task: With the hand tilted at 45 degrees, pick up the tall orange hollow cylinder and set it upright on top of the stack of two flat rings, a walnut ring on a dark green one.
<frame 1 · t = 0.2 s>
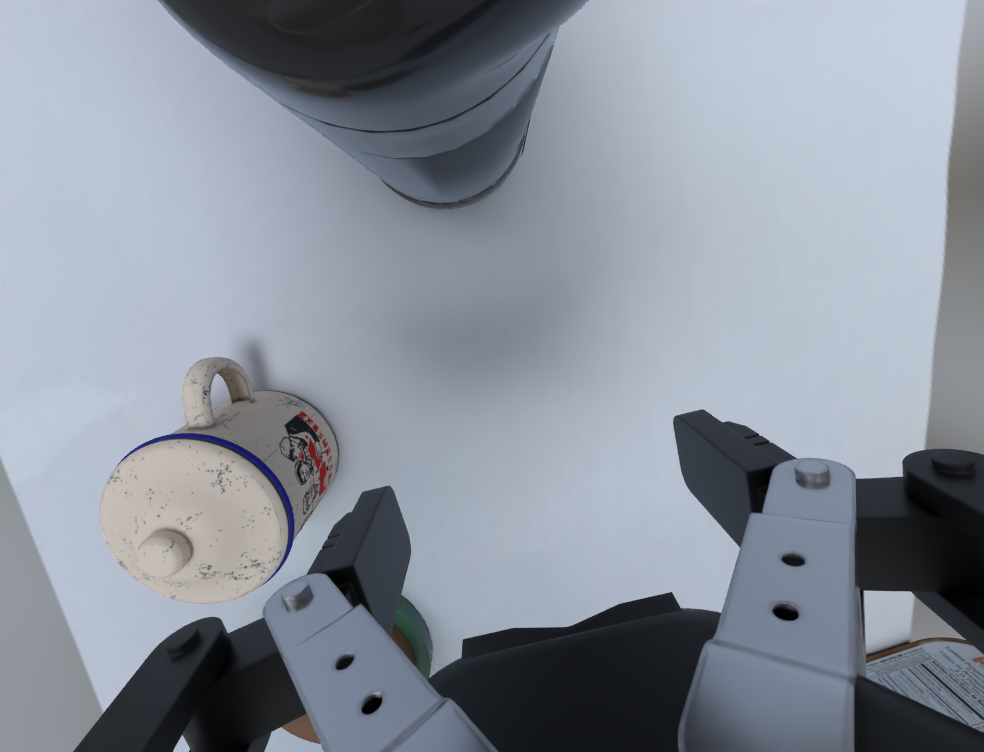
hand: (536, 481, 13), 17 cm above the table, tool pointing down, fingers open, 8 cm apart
tin: (871, 660, 37), on the table
teacup with lid: (272, 429, 31), on the table
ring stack: (346, 649, 35), on the table
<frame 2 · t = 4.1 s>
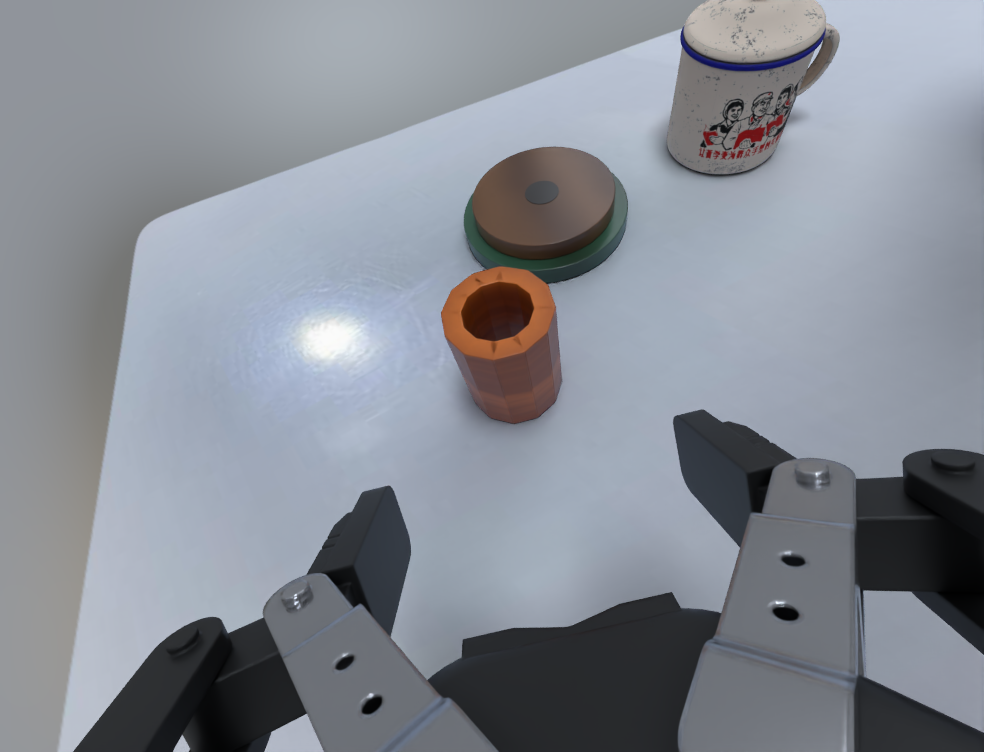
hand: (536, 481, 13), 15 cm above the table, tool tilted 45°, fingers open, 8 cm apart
teacup with lid: (735, 139, 40), on the table
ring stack: (544, 222, 38), on the table
orange hollow cylinder: (515, 381, 32), on the table
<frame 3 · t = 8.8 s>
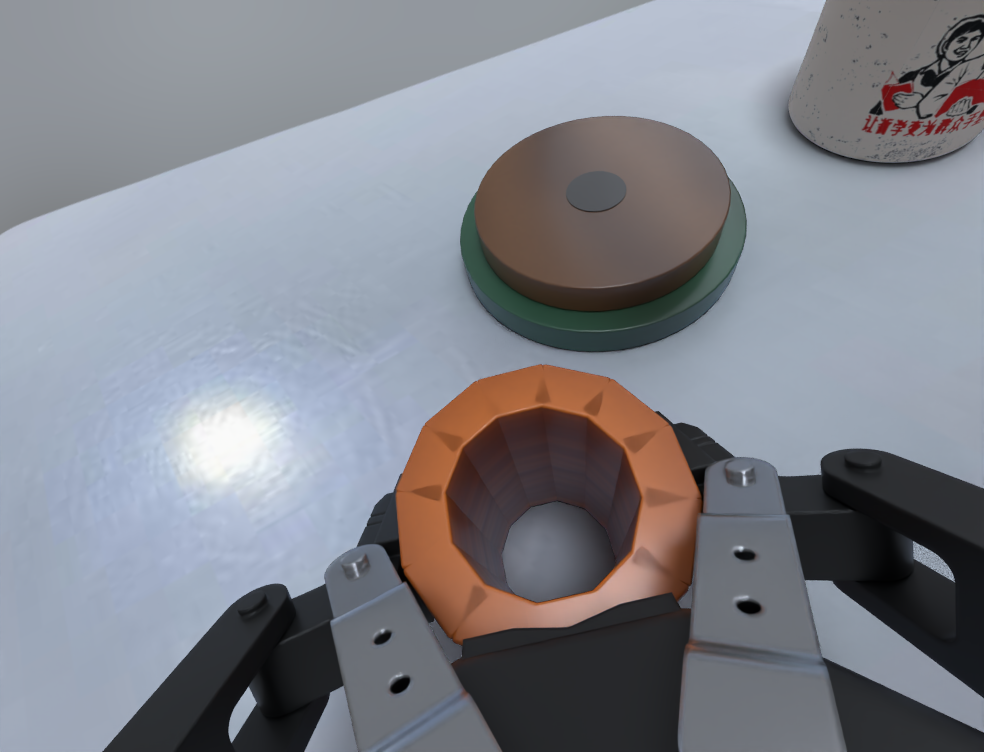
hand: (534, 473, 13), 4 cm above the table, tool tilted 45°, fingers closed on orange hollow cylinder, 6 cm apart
teacup with lid: (903, 108, 24), on the table
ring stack: (594, 241, 23), on the table
orange hollow cylinder: (557, 557, 16), on the table, touching gripper
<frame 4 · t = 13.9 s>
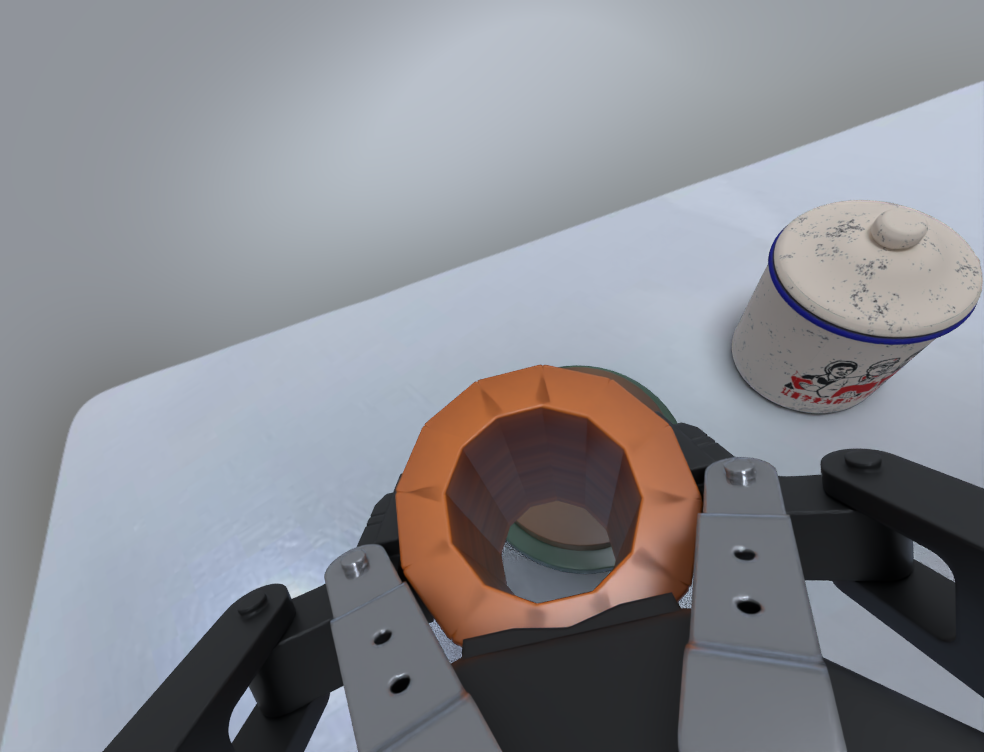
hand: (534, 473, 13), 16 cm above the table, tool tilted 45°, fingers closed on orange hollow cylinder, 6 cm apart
teacup with lid: (820, 352, 31), on the table
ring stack: (577, 464, 30), on the table
orange hollow cylinder: (557, 557, 16), point 12 cm above the table, touching gripper
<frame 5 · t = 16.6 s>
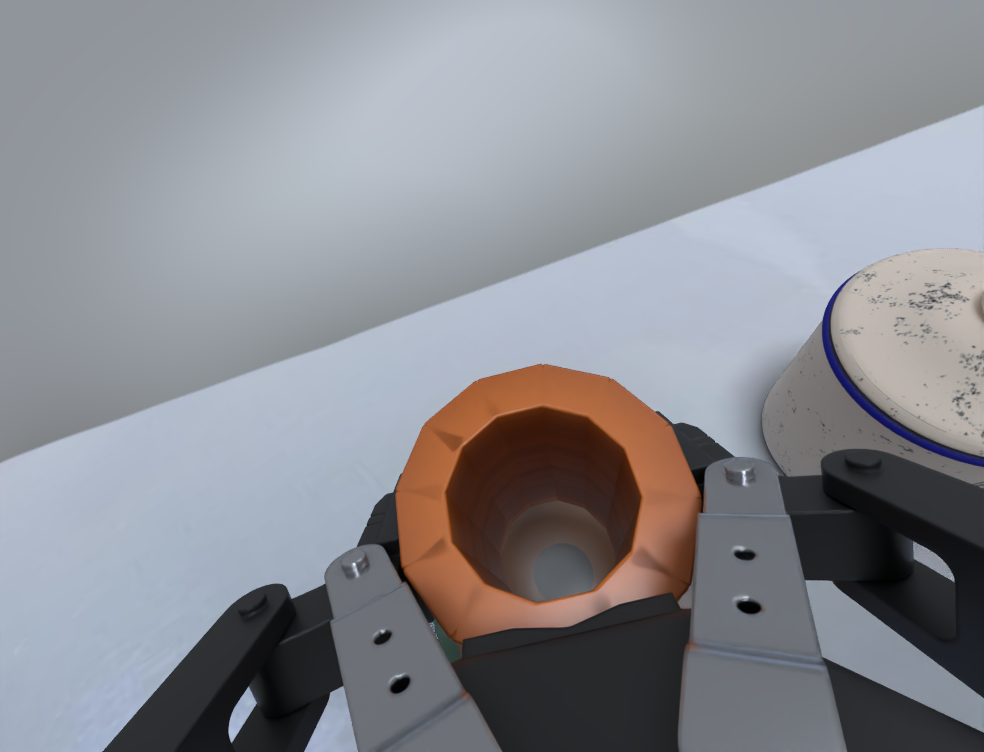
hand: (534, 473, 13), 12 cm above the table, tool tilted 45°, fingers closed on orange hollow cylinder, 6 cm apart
teacup with lid: (876, 430, 24), on the table
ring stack: (565, 581, 23), on the table
orange hollow cylinder: (557, 557, 16), point 8 cm above the table, touching gripper
when the fingers open (7 cm above the table, at t = 18.9 s): orange hollow cylinder stays where it is, resting on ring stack.
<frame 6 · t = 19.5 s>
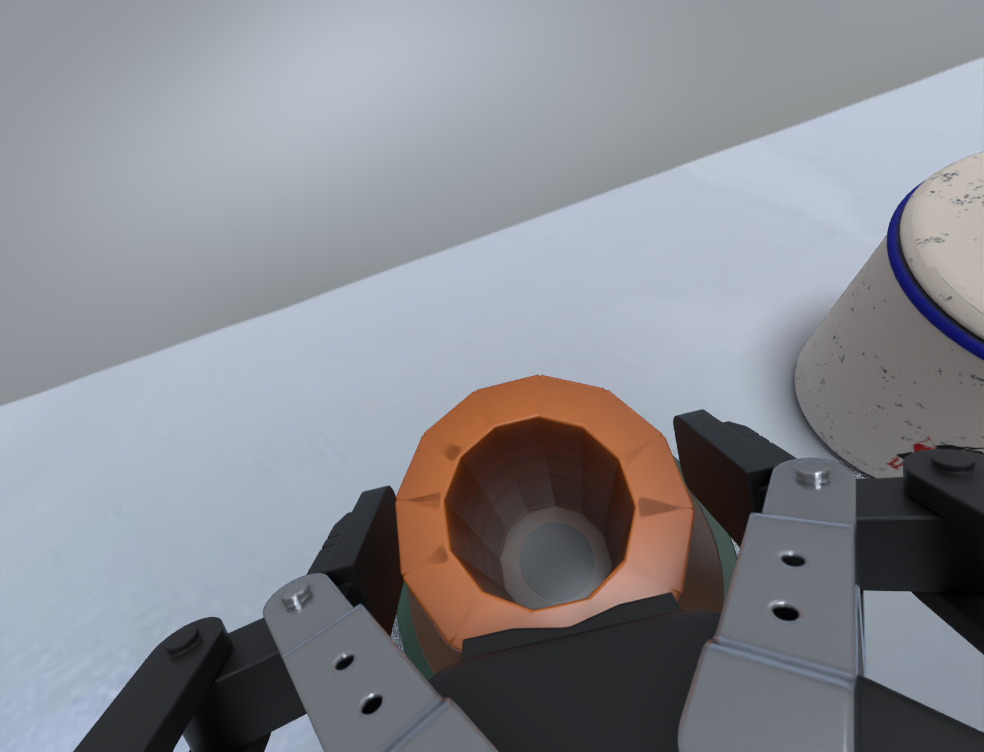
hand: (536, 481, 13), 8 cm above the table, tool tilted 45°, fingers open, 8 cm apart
teacup with lid: (932, 391, 20), on the table
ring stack: (559, 571, 19), on the table
orange hollow cylinder: (554, 561, 16), point 3 cm above the table, touching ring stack
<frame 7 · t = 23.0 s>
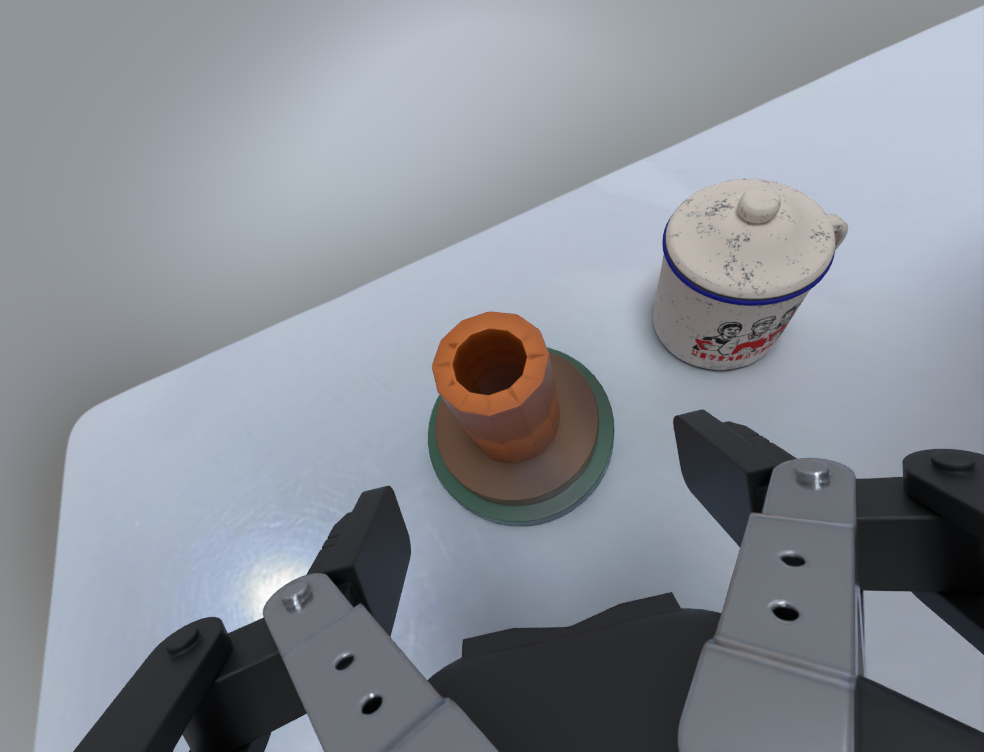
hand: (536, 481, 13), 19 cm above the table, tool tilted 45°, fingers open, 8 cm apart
teacup with lid: (731, 315, 35), on the table
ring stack: (520, 432, 34), on the table
orange hollow cylinder: (513, 418, 31), point 3 cm above the table, touching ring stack
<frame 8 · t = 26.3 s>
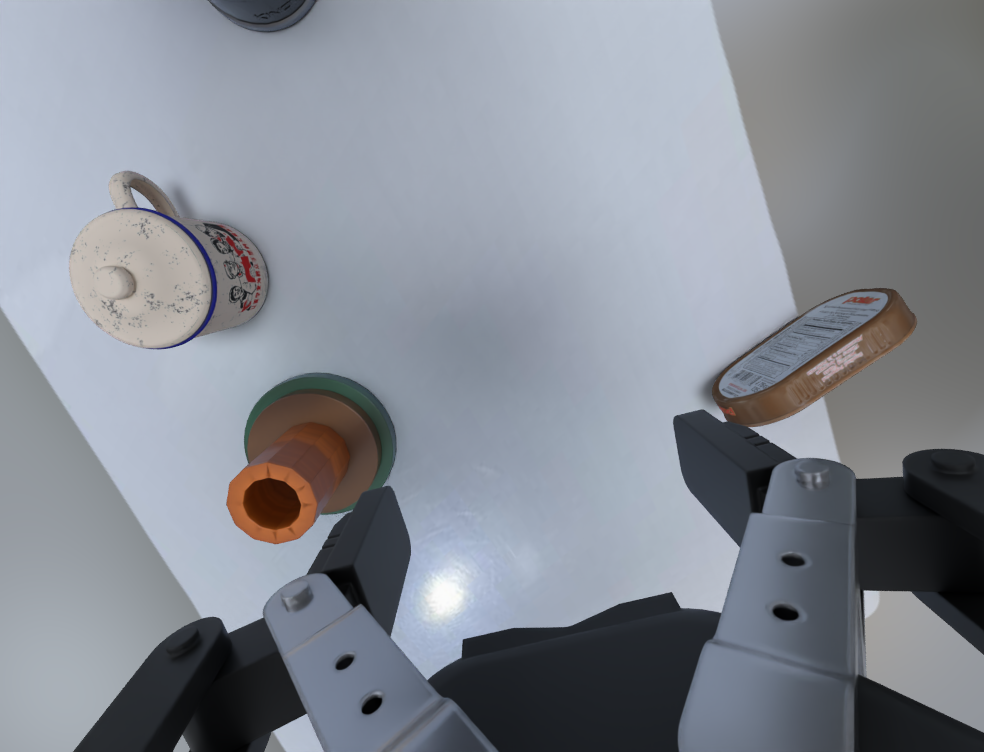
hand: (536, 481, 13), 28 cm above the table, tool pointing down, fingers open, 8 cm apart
tin: (771, 346, 41), on the table
teacup with lid: (211, 259, 39), on the table
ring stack: (324, 442, 42), on the table
orange hollow cylinder: (313, 456, 40), point 3 cm above the table, touching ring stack
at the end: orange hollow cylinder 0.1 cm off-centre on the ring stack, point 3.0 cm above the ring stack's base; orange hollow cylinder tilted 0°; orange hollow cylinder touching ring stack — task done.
